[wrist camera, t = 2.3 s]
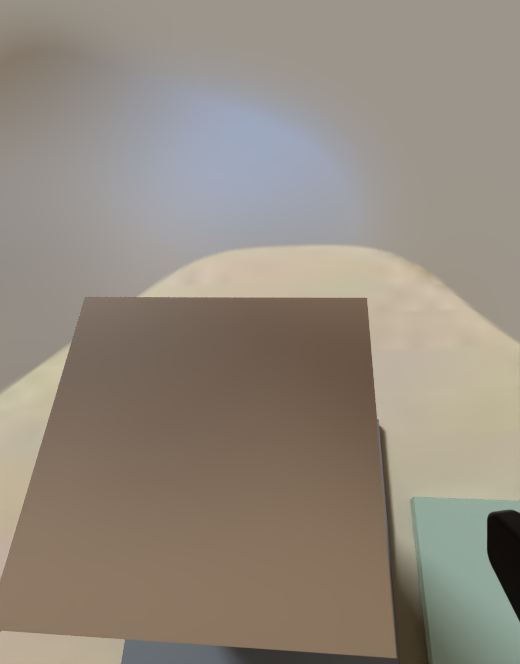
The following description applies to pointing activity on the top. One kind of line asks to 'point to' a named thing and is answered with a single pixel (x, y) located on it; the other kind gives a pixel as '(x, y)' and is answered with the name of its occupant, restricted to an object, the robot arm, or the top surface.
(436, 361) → the top surface
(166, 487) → the walnut block
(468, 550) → the sage board
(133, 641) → the card
